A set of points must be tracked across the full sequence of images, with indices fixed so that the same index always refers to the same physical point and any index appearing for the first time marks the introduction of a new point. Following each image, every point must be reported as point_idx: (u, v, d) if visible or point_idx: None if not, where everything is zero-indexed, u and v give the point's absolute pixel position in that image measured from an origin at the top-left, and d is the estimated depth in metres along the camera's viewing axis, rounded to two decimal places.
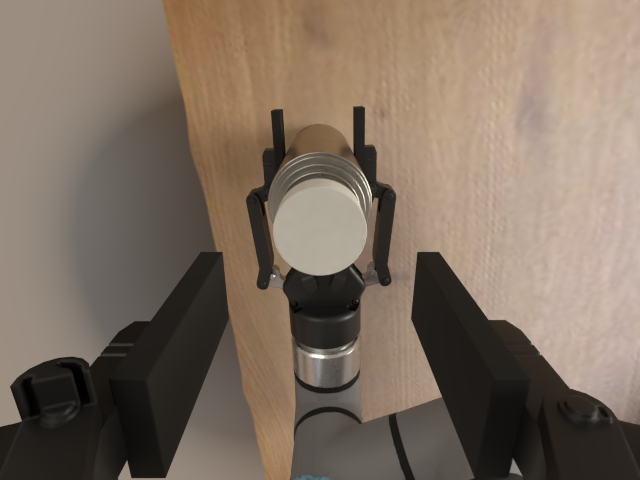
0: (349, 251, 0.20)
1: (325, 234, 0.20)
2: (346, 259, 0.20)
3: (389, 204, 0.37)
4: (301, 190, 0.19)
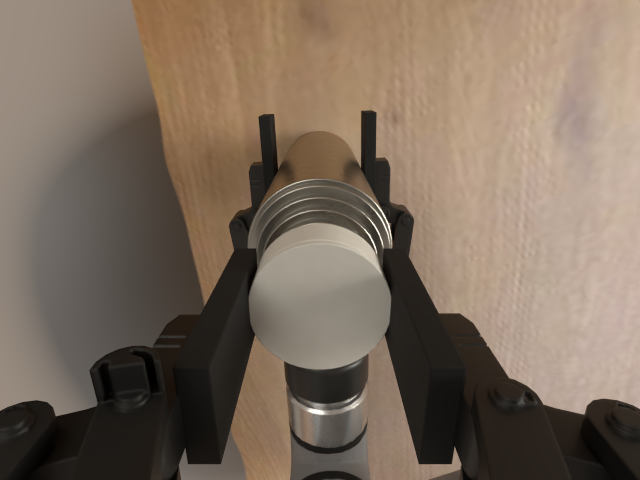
0: (364, 336, 0.13)
1: (328, 312, 0.13)
2: (360, 347, 0.13)
3: (405, 231, 0.30)
4: (291, 248, 0.12)
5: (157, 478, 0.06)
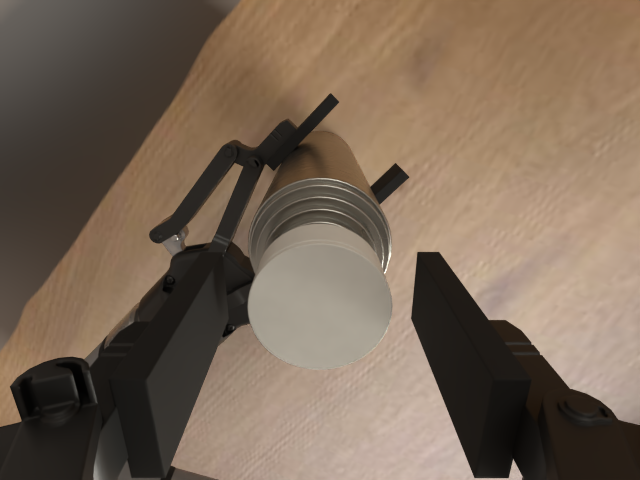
0: (350, 268, 0.12)
1: (321, 303, 0.13)
2: (365, 272, 0.12)
3: None
4: (256, 333, 0.13)
5: None
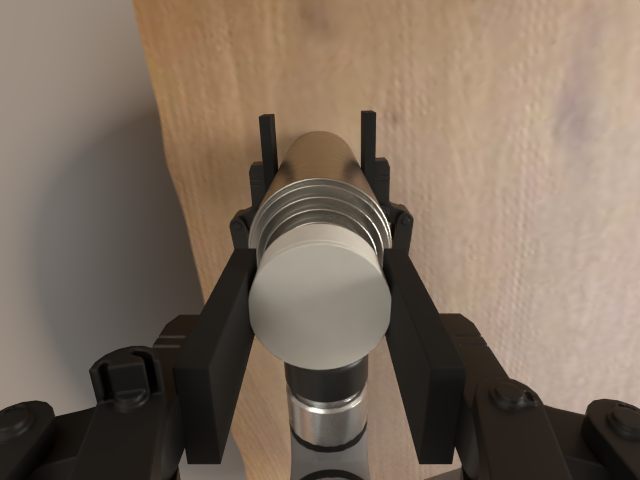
0: (305, 262, 0.12)
1: (314, 304, 0.13)
2: (318, 254, 0.12)
3: (405, 230, 0.30)
4: None
5: (156, 478, 0.06)
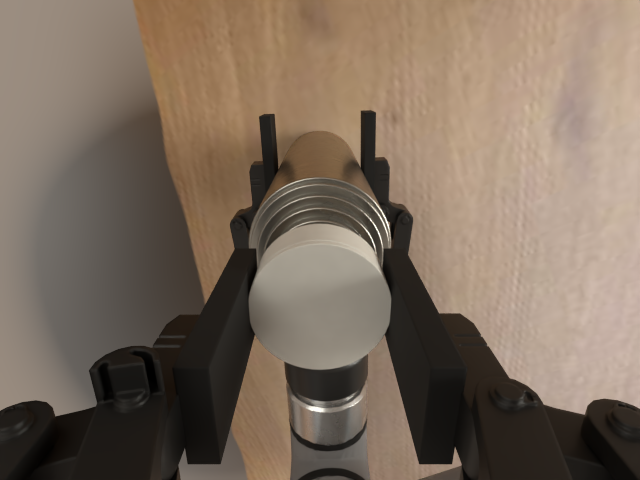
0: (294, 351, 0.13)
1: (318, 318, 0.13)
2: (281, 348, 0.13)
3: (404, 230, 0.30)
4: (384, 279, 0.12)
5: (157, 478, 0.06)
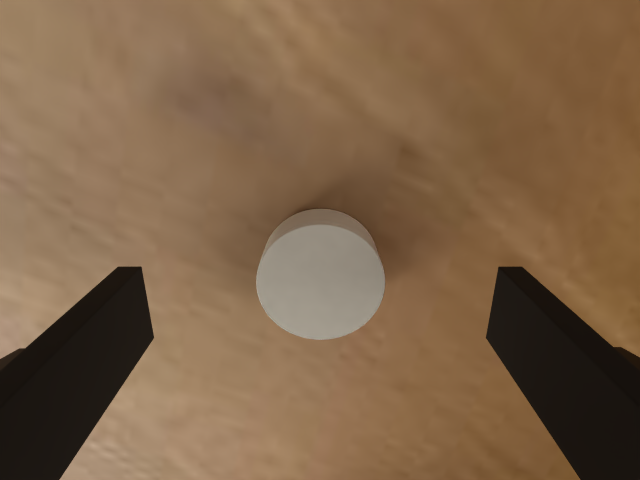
0: (298, 322, 0.15)
1: (319, 292, 0.14)
2: (286, 320, 0.15)
3: None
4: (378, 257, 0.14)
5: None
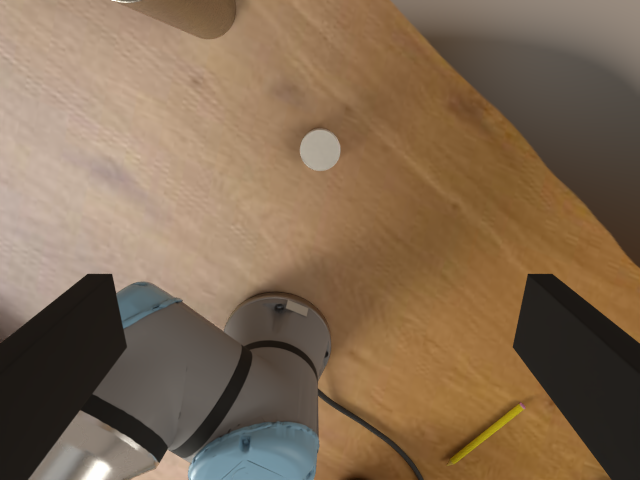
0: (312, 164, 0.46)
1: (319, 153, 0.46)
2: (309, 163, 0.46)
3: None
4: (338, 141, 0.45)
5: None
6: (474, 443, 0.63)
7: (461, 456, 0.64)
